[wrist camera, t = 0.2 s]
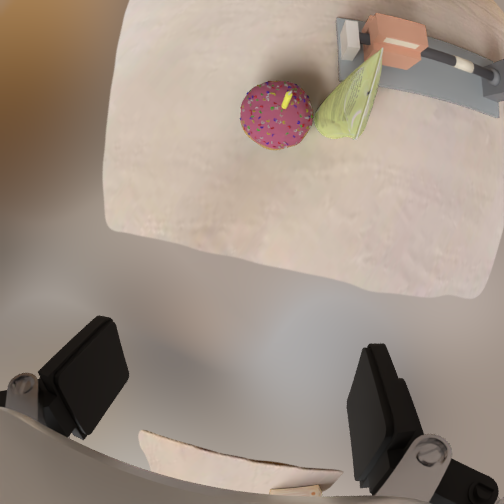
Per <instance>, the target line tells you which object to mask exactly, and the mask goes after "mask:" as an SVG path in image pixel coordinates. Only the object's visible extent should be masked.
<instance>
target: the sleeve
mask: <svg viewBox="0 0 504 504" xmlns="http://www.w3.org/2000/svg"><path fill="white" fill-rule="evenodd" d="M362 33H368V34H370V43H371V44H370V45H365V44H363V52H364V62H365V61H366V60H367V59H368V58H370V57H371V56H372V55H374V54H375V53H377V52H378V51H379V50H380V49H381V48H384V49H383V54H382V65H384V66H390V67H395V68H399V69H404V70H408V69H409V68H411V67H412V66H413V65H415V64H416V63H418V62H419V61H420V60H421V52H422V51H423V50H425V49H426V48H427V47H429V45H428V39H427V33H426V27H425V25H423V24H420V23H416V22H413V21H409V20H405V19H401V18H397V17H393V16H389V15H384V14H379V13H376V14H375V15H374V16H372V15H370V16H369V18H368V20H367V22H366V23H365V25H364V27H363V29H362Z"/></svg>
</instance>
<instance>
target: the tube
mask: <svg viewBox="0 0 504 504" xmlns="http://www.w3.org/2000/svg"><path fill="white" fill-rule="evenodd" d="M383 49H384V48H381V49H380V50H379V51H378V52H377V53H375V54H374V55H372V56H371V57H370V58H368V59H367V60H366V61H365V62H364V63H362V64H361V65H360V66H359V67H358V68H357V69H355V70H354V71H353V72H352V73H351V74H350V75H349V76H348V77H347V78H346V79H345V80H343V81H342V82H341V83H340V84H339V85H338V86H337V87H336V88H335V90H334V91H333V92H332V93H331V94H330V95H329V96H328V97H327V98H326V99H325V101H324V102H323V103H322V104H321V106H320V107H319V108H318V110H317V111H316V114H315V118H314V121H315V126H316V128H317V130H318V131H319V132H320V133H321V134H322V135H323V136H325V137H328V138H332V139H338V138H342V137H350V138H352V139H353V140H357V139H358V137H359V136H360V135H361V134H362V132H363V131H364V129H365V127H366V124H367V122H368V119H369V116H370V112H371V109H372V106H373V103H374V99H375V96H376V93H377V89H378V85H379V81H380V76H381V69H382V54H383Z"/></svg>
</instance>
